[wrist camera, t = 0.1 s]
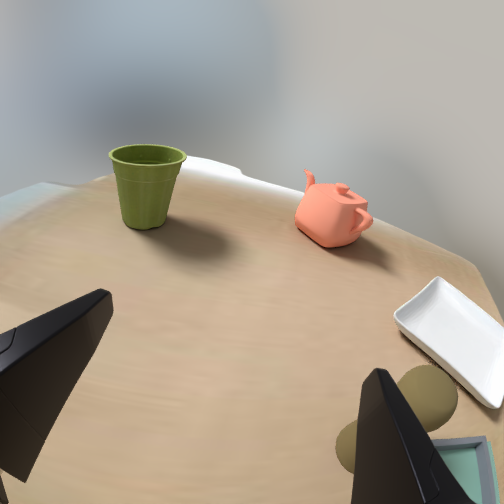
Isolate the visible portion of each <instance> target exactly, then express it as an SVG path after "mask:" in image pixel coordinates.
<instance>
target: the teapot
mask: <svg viewBox="0 0 504 504" xmlns="http://www.w3.org/2000/svg"><path fill="white" fill-rule="evenodd" d="M304 171H305V173H306V175H307V186H306V190H305V195H304V197H303V198H302V200H301V202H300V204H299V206H298V209H297V211H296V214H295V225H296V226H297V227H298V228H299V229H300V230H302V231H303V232H304V233H305V234H307V235H308V236H309V237H310V238H312V239H313V240H314V241H316V242H317V243H319V244H320V245H322V246H323V247H339V246H344V245H348V244H350V243H352V242H354V241H355V240H357V238H358V237H359V236H360V234H361V232H362V231H364V230H366V229H368V228H369V227H370V226H371V225H372V223H373V218H372V216H371V215H370V214H369V213H367V205H368V202H367V201H366V200H365V199H363V198H362V197H360V196H359V195H357V194H355V193H354V192H352V191H350V190H349V189H350V188H349V187H348V186H347V185H345V184H342V183H336V184H315V179H314V176H313V174H312V173H311V172H310V171H308V170H306V169H304Z"/></svg>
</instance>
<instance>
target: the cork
mask: <svg viewBox="0 0 504 504" xmlns="http://www.w3.org/2000/svg"><path fill="white" fill-rule="evenodd" d="M397 386H398V388H399V389H400V391H401V392H402V394H403V395H404V397H405V399H406V400H407V402H408V403H409V405H410V406H411V408H412V410H413V411H414V413H415V414H416V416H417V418H418V419H419V421H420V422H421V424H422V426H423V427H424V429H425V431H426V432H431V431H434V430H437V429H438V428H440V427H441V426H442V425H444V424H445V423H446V422H447V421H449V419H450V418H451V417H452V415H453V413H454V411H455V409H456V406H457V402H458V393H457V389H456V387H455V384H454V382H453V381H452V379H451V378H450V377H449V375H447V374H446V373H445V372H444V371H443V370H441V369H439V368H438V367H435V366H432V365H422V366H418V367H415V368H413V369H411V370H410V371H408V372H407V373H406V374H405V375H404V376H403V377H402V378H401V380H400V381H399V382H398V383H397ZM357 420H358V419H357ZM357 420H356V421H354V422H352V423H351V424H349V425H347V426H346V427H345V428H344V429H343V430H342V431H341V432H340V434H339V436H338V437H337V441H336V453H337V457H338V459H339V461H340V463H341V465H342V466H343V467H344V468H345V469H346V470H347V471H349V472H351V473H353V474H354V467H355V452H356V432H357Z"/></svg>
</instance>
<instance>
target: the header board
mask: <svg viewBox="0 0 504 504" xmlns="http://www.w3.org/2000/svg"><path fill="white" fill-rule="evenodd" d="M431 441H432V442H433V444H434V446H435V448H436V449H437V450H438V452H439V454H440V455H441V457H442V459H443V460H444V462H445V464H446V465H447V467H448V468H449V470H450V471H451V473H452V474H453V475H454V477H455V478H456V480H457V481H458V482H459V484H460V485H461V487H462V488H463V489H464V491H465V492H466V494H467V495H468V496H469V498H470V499H471V500H472V501H474V502H475V503H477V504H500V499H499V490H498V482H497V475H496V469H495V463H494V457H493V452H492V447H491V442H487V440H486V436H477V437H467V438H455V439H436V440H431Z"/></svg>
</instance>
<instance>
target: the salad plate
mask: <svg viewBox="0 0 504 504" xmlns="http://www.w3.org/2000/svg"><path fill="white" fill-rule="evenodd" d="M394 320H395V323H396V325H397V327H398V328H399V329H400V330H401V332H402V333H404V334H405V335H406V336H407V337H408V338H409V339H410V340H411V341H412V342H414V343H415V344H416V345H417V346H418V347H420V348H421V349H422V350H423V351H424V352H426V353H427V354H428V355H429V356H430V357H431V358H432V359H434V360H435V361H436V362H437V363H438V364H439V365H440V366H441V367H442V368H444V369H445V370H446V371H447V372H448V373H449V374H450V375H451V376H453V377H454V378H455V379H456V380H457V381H458V382H459V383H460V384H461V385H462V386H464V387H465V388H466V389H467V390H468V391H469V392H470V393H471V394H472V395H473V396H474V397H475V398H476V399H477V400H478V401H480V402H481V403H482V404H483V405H485V406H487V407H489V408H492V409H498V408H500V406H501V403H502V400H503V397H504V328H503V327H502V326H501V325H500V324H499V323H498V322H497V321H495V320H494V319H493V318H492V317H491V316H490V315H489V314H487V313H486V312H485V311H484V310H483V309H481V308H480V307H479V306H478V305H476V304H475V303H474V302H473V301H471V300H470V299H469V298H468V297H466V296H465V295H464V294H462V293H461V292H460V291H459V290H457V289H456V288H455V287H453V286H452V285H451V284H449V283H448V282H447V281H445V280H444V279H443V278H441V277H439V276H437V277H435V278H434V279H433V280H432V281H431V282H430V283H429V284H428V285H427V286H426V287H425V288H424V289H423V290H422V291H420V292H419V293H418V294H417V295H416V296H414V297H413V298H412V299H410V300H409V301H408V302H406V303H405V304H404V305H402V306H401V307H400V308H399V309H397V310H396V311H395V312H394Z"/></svg>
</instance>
